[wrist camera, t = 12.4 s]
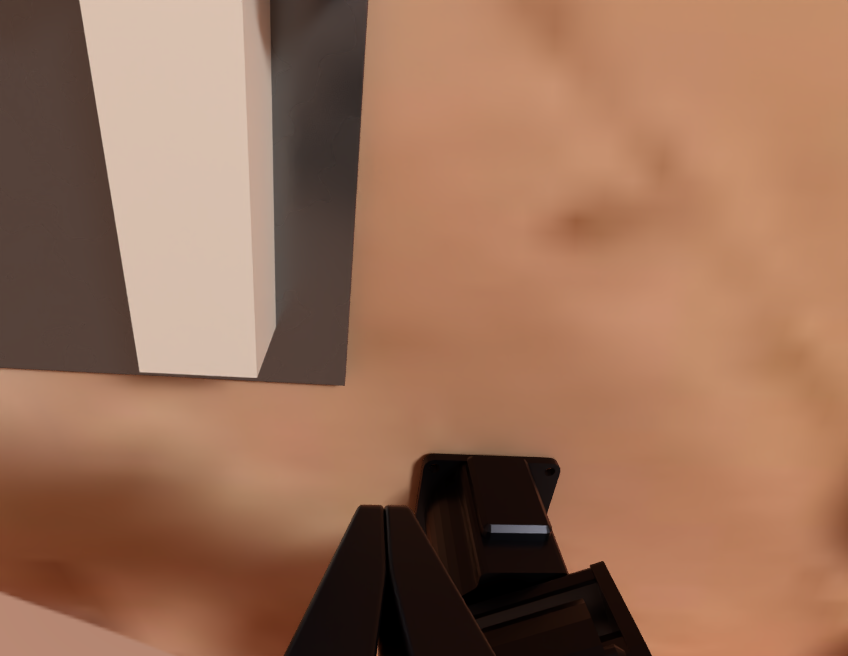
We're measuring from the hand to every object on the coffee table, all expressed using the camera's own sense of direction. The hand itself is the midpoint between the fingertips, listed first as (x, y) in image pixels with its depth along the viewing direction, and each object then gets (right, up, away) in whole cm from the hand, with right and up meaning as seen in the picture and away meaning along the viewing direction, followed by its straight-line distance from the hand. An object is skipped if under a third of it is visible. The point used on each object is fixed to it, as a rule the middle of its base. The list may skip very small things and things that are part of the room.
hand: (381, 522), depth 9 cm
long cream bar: (-6, +11, +7) cm, 14 cm away
